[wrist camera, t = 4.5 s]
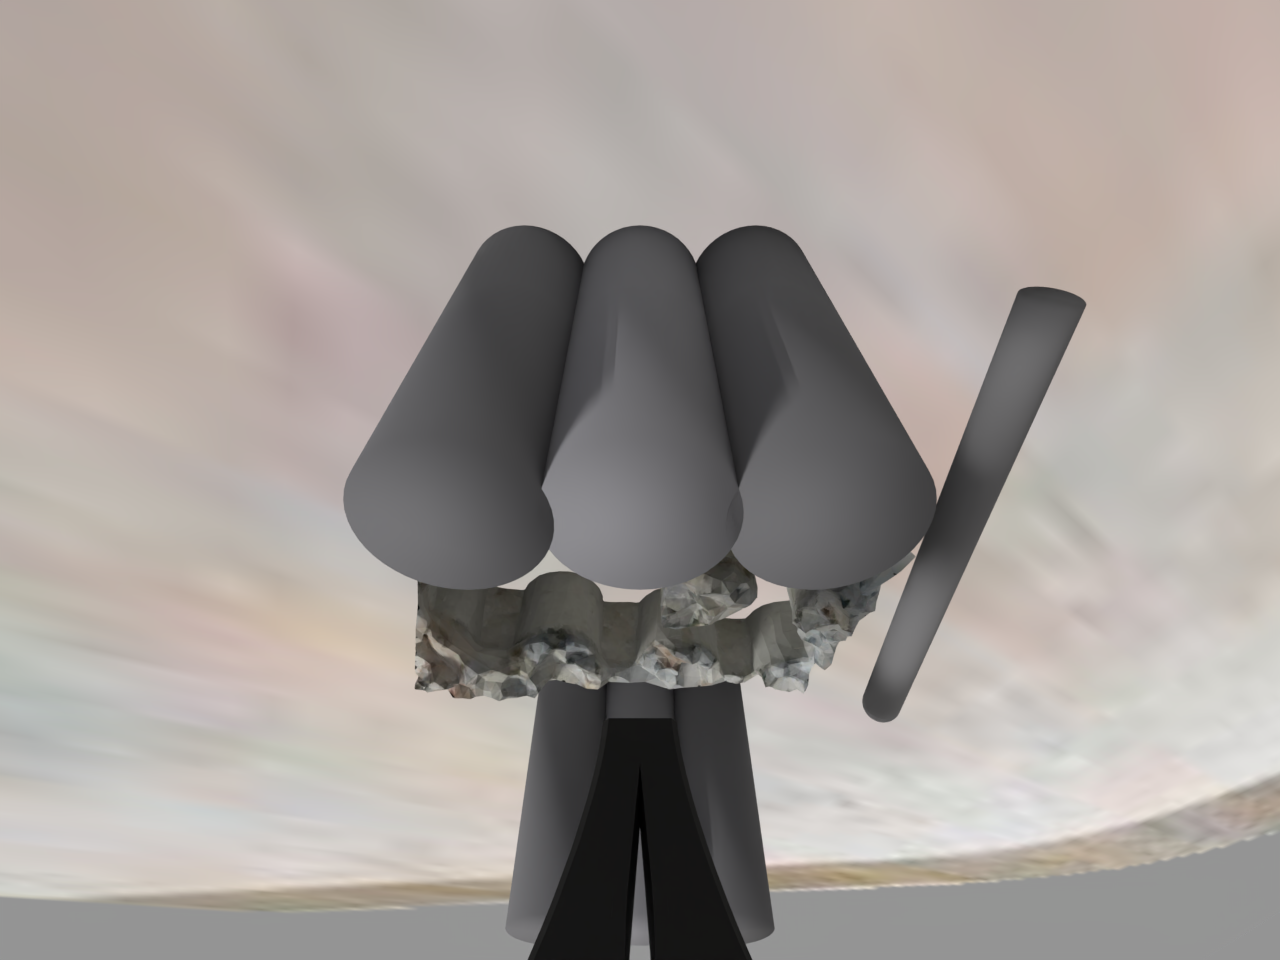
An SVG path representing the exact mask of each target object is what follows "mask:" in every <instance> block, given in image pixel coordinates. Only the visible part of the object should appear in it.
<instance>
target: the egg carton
mask: <svg viewBox="0 0 1280 960" xmlns="http://www.w3.org/2000/svg"><path fill="white" fill-rule="evenodd" d="M915 557H916V556H915V555H914V554H913V553H912V552H910V553H909V554H908V555H907V556H906V557H904V558H903V559H902V560H900V561H899V562H898V563H896V564H895V565H893V566H892V567H890V568H888V569H887V570H885V571H883V572H881V573H879V574H877V575H875V576H873V577H871V578H868V579H866V580H863V581H861V582H857V583H854V584H851V585H847V586H842V587H837V588H830V589H818V590H806V589H795V588H788V587H786V588H787V592H788V596H789V601H779V602H772V603H769V604H765V605H762V606H760V607H759V608H757V609H755V610H754V611H753V612H752V613H751V614H750V615H749V616H747V617H746V618H743V619H731V618H726V617H728V616H730V615H732V614H734V613H736V612H738V611H740V610H742V609H743V608H746V607H748V606H750V605H751V604H752V603H753V602H754V601H755V599H756V598H757V593H758V586H757V582H756V577H755V575H754V574H753V573H751V572H750V571H748V570H747V569H746V568H745V567H744V566H743V565H742V564H741V563H740V562H739V561H738V560H737V558H736V557H735V556H734V554H733V552H732V550H730V551H729V553H728V554H727V555H726V556H725V557H724V558H723V559H722V560H721V561H720V562H719V563H718V564H717V565H715V566H714V567H713V568H711V569H710V570H708V571H707V572H705V573H703V574H702V575H700V576H698V577H696V578H694V579H691V580H689V581H687V582H684V583H680V584H677V585H674V586H669V587H665V588H660V589H656V590H654V591H652V592H651V593H649V594H648V595H646V596H645V597H644V598H643V599H642V600H641V601H640V602H637V603H635V602H606V601H603V595H602V593H601V590H600V588H599V587H598V586H597V585H596V584H595V583H594V582H593V581H591V580H589V579H586V578H584V577H582V576H580V575H578V574H577V573H574V572H570V571H557V572H548V573H545V574H542V575H539V576H538V577H536V578H535V579H534V580H532V581H531V582H530V583H529V584H528V585H527V587H526V589H525V590H518V589H507V588H501V587H497V586H496V587H492V588H485V589H474V590H462V589H450V588H443V587H438V586H433V585H429V584H426V583H423V582H419V581H417V582H418V609H417V620H416V642H415V644H416V647H415V649H416V653H415V672H416V674H417V675H418V676H419V677H418V679H417V681H416V683H415V689H416V690H423V691H426V692H427V693H428V692H433V691H439V690H448V691H449V692H450V694H451V696H452V697H453V698H464V699H472V698H474V697H478V696H486V697H490V698H493V699H495V700H497V701H501V700H504V699H507V698H519V697H523V696H529V697H532V698H535V697H536V696H537V694H538V693H539V692H540V690H541V689H542V688H543V686H544V685H545V684H546V683H547V682H548V681H549V680H559V681H563V682H567V683H572V684H577V685H580V686H582V687H584V688H587V689H599V688H601V687H602V686H603V685H605V684H606V683H608V682H624V683H635V682H647V683H651V684H654V685H657V686H660V687H664V688H667V689H676V688H684V687H701V686H710V685H714V684H718V683H721V682H724V681H726V682H731V683H735V684H738V683H743V682H746V681H748V680H749V679H751V678H753V677H754V676H756V675H759V676H761V677H762V680H763V682H764V685H765V687H772V688H774V689H776V690H781V691H786V692H791V691H793V690H796V689H797V690H799V691H800V692H802V693H803V694H804V692H805V691H806V689H807V687H808V682H809V674H810V671H811V668H812V667H813V666H814V664H815V663H816V664H817V665H818V666H819V667H820V668H822V669H823V670H826V669H827V668H828V667H829V666H830V665H831V664H832V661H833V657H834V654H835V650H836V647H837V645H838V643H839V642H840V641H846V639H847V637H849V636H852V634H853V632H854V630H855V628H856V626H857V624H858V622H859V621H860V620H861V619H862V618H864V617H865V616H867V615H868V614H869V613H871V612H874V611H875V609H876V602H877V599H878V595H879V592H880V588H881V585H882V584H883V583H885V582H886V581H888V580H889V579H891V578H892V577H894V576H895V575H897V574H898V573H899V572H901V571H902V570H903V569H904V568H905V567H906V566H907V565H908V564H909V563H910V562H911V561H912V560H913V559H914V558H915Z"/></svg>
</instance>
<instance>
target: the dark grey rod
mask: <svg viewBox="0 0 1280 960" xmlns="http://www.w3.org/2000/svg"><path fill="white" fill-rule="evenodd" d="M1085 307H1086V302H1085V301H1084V300H1083V299H1082V298H1081V297H1079V296H1077V295H1075V294H1073V293H1070V292H1067V291H1064V290H1060V289H1056V288H1050V287H1026V288H1022V289H1020V290H1019V291H1018V292H1017V295H1016V298H1015V300H1014V303H1013V305H1012V308H1011V311H1010V313H1009V316H1008V318H1007V321H1006V324H1005V326H1004V329H1003V332H1002V334H1001V337H1000V339H999V342H998V345H997V347H996V350H995V352H994V355H993V358H992V360H991V363H990V365H989V368H988V371H987V373H986V376H985V379H984V381H983V384H982V386H981V389H980V392H979V394H978V397H977V399H976V402H975V405H974V407H973V410H972V412H971V415H970V418H969V420H968V423H967V426H966V428H965V431H964V433H963V436H962V439H961V441H960V444H959V446H958V449H957V452H956V454H955V457H954V459H953V462H952V465H951V467H950V470H949V473H948V475H947V478H946V480H945V483H944V486H943V488H942V491H941V493H940V496H939V499H938V501H937V504H936V510H935V514H934V517H933V520H932V522H931V525H930V527H929V529H928V531H927V532H926V534H925V535H924V538H923V540H922V543H921V546H920V548H919V551H918V553H917V556H916V559H915V561H914V564H913V567H912V569H911V572H910V574H909V577H908V580H907V582H906V585H905V587H904V590H903V593H902V595H901V598H900V600H899V603H898V606H897V608H896V611H895V614H894V616H893V619H892V621H891V624H890V627H889V629H888V632H887V634H886V637H885V640H884V642H883V645H882V647H881V650H880V653H879V655H878V658H877V661H876V663H875V666H874V668H873V671H872V674H871V676H870V679H869V681H868V684H867V687H866V689H865V692H864V694H863V698H862V704H863V708H864V710H865V712H866V714H867V715H868V716H869V717H870V718H871V719H873V720H875V721H877V722H882V723H885V722H890V721H892V720H894V719H895V718H896V717H897V716H898V714H899V713H900V710H901V708H902V706H903V704H904V702H905V700H906V697H907V695H908V693H909V691H910V689H911V687H912V684H913V682H914V680H915V678H916V676H917V673H918V671H919V669H920V667H921V665H922V663H923V660H924V658H925V656H926V654H927V652H928V649H929V647H930V645H931V643H932V641H933V639H934V636H935V634H936V632H937V630H938V628H939V626H940V623H941V621H942V619H943V617H944V615H945V612H946V610H947V608H948V606H949V604H950V602H951V599H952V597H953V595H954V593H955V591H956V588H957V586H958V584H959V582H960V580H961V578H962V575H963V573H964V571H965V569H966V567H967V565H968V562H969V560H970V558H971V556H972V554H973V551H974V549H975V547H976V545H977V543H978V541H979V538H980V536H981V534H982V532H983V530H984V527H985V525H986V523H987V521H988V519H989V517H990V514H991V512H992V510H993V508H994V506H995V504H996V501H997V499H998V497H999V495H1000V493H1001V490H1002V488H1003V486H1004V484H1005V482H1006V480H1007V477H1008V475H1009V473H1010V471H1011V469H1012V466H1013V464H1014V462H1015V460H1016V458H1017V456H1018V453H1019V451H1020V449H1021V447H1022V445H1023V443H1024V440H1025V438H1026V436H1027V434H1028V432H1029V429H1030V427H1031V425H1032V423H1033V421H1034V419H1035V416H1036V414H1037V412H1038V410H1039V408H1040V405H1041V403H1042V401H1043V399H1044V397H1045V395H1046V392H1047V390H1048V388H1049V386H1050V384H1051V382H1052V379H1053V377H1054V375H1055V373H1056V371H1057V368H1058V366H1059V364H1060V362H1061V360H1062V358H1063V355H1064V353H1065V351H1066V349H1067V347H1068V344H1069V342H1070V340H1071V338H1072V336H1073V334H1074V331H1075V329H1076V327H1077V325H1078V323H1079V321H1080V318H1081V316H1082V314H1083V312H1084V310H1085Z"/></svg>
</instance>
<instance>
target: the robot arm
mask: <svg viewBox="0 0 1280 960" xmlns="http://www.w3.org/2000/svg"><path fill="white" fill-rule="evenodd" d="M639 834H641V846H642V859H643V872H644V884H645V897H646V909H647V922H648V934H649V947H650V960H752V958H751V955H750V953H749V951H748V948H747V946H746V944H745V941H744V939H743V937H742V934H741V932H740V930H739V927H738V925H737V922H736V920H735V917H734V915H733V912H732V910H731V907H730V905H729V902H728V900H727V897H726V895H725V892H724V889H723V887H722V884H721V881H720V879H719V876H718V874H717V871H716V868H715V865H714V862H713V860H712V857H711V854H710V851H709V848H708V845H707V842H706V839H705V836H704V833H703V830H702V827H701V824H700V820H699V817H698V814H697V811H696V808H695V804H694V801H693V797H692V794H691V790H690V786H689V782H688V778H687V775H686V770H685V766H684V762H683V757H682V752H681V747H680V741H679V735H678V727H677V721H675V720H674V719H672V718H608V719H606V720H605V721H603V726H602V734H601V741H600V746H599V752H598V757H597V761H596V766H595V770H594V774H593V778H592V782H591V786H590V790H589V793H588V797H587V801H586V804H585V807H584V810H583V813H582V817H581V820H580V823H579V826H578V829H577V833H576V836H575V839H574V842H573V845H572V848H571V851H570V854H569V856H568V859H567V862H566V865H565V867H564V870H563V873H562V875H561V878H560V881H559V884H558V886H557V889H556V892H555V894H554V897H553V900H552V902H551V905H550V907H549V910H548V912H547V915H546V917H545V920H544V922H543V925H542V927H541V929H540V932H539V934H538V936H537V939H536V941H535V943H534V946H533V948H532V950H531V953H530V955H529V957H528V960H630V947H631V934H632V922H633V909H634V897H635V884H636V872H637V859H638V846H639Z"/></svg>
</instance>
